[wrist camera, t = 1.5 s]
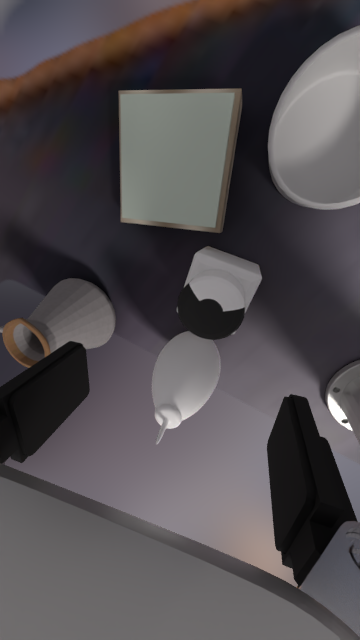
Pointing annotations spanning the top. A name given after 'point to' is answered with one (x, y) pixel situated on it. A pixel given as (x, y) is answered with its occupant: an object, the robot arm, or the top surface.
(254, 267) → the medicine bottle
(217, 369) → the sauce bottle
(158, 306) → the top surface
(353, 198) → the saucepan
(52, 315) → the coffee pot
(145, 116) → the plinth
